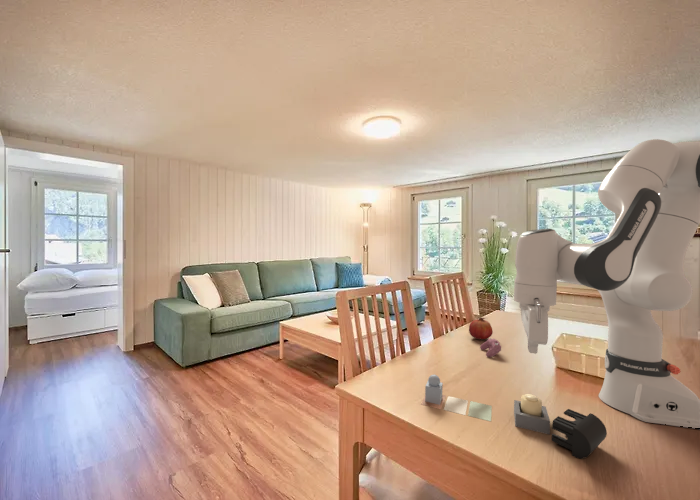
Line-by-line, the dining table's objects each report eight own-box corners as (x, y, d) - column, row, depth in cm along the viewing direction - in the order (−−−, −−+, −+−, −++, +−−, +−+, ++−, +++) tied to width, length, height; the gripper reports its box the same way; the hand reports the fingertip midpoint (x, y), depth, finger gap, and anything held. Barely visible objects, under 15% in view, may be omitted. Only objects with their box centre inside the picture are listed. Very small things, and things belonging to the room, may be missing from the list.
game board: (492, 406, 84) (492, 404, 84) (492, 426, 75) (492, 423, 75) (426, 391, 92) (426, 389, 92) (418, 408, 83) (418, 405, 83)
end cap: (589, 468, 61) (591, 435, 61) (550, 448, 67) (551, 418, 67) (606, 449, 67) (607, 419, 67) (568, 432, 73) (570, 404, 73)
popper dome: (540, 412, 76) (540, 394, 76) (542, 422, 73) (543, 403, 72) (520, 408, 78) (520, 390, 78) (521, 417, 74) (521, 398, 74)
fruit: (486, 335, 147) (486, 315, 147) (497, 342, 138) (497, 320, 137) (464, 335, 147) (465, 315, 146) (474, 342, 137) (474, 320, 137)
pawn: (442, 398, 87) (442, 373, 86) (439, 404, 83) (440, 379, 83) (428, 394, 88) (428, 371, 88) (425, 401, 85) (425, 376, 85)
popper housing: (545, 421, 77) (545, 406, 77) (549, 437, 71) (550, 421, 71) (513, 414, 80) (514, 400, 80) (515, 428, 74) (515, 413, 74)
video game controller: (496, 362, 119) (505, 346, 118) (485, 356, 120) (494, 340, 119) (488, 353, 129) (496, 338, 128) (478, 347, 129) (486, 333, 129)
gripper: (557, 304, 64) (554, 369, 64) (544, 290, 82) (542, 341, 83) (523, 301, 67) (520, 364, 67) (517, 288, 85) (515, 338, 85)
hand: (532, 351), depth 75 cm, fingers closed
